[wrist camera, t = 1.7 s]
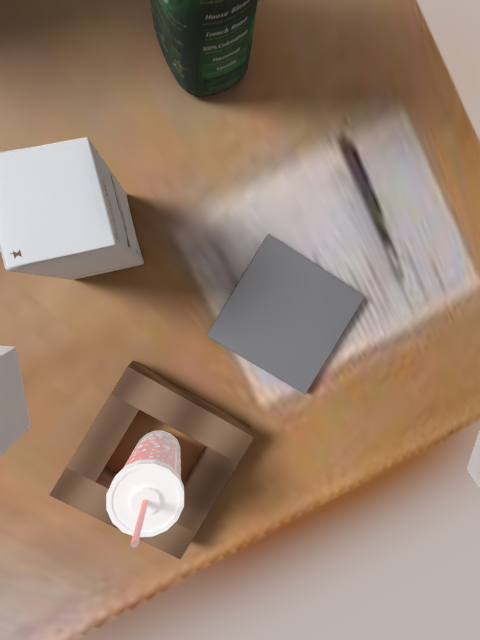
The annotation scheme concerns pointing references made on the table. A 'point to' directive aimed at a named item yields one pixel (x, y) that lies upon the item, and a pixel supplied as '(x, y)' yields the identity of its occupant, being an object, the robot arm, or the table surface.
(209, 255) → the table surface
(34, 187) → the supplement box
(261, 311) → the slate coaster
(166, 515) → the beverage cup
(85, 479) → the walnut holder
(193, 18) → the coffee jar
